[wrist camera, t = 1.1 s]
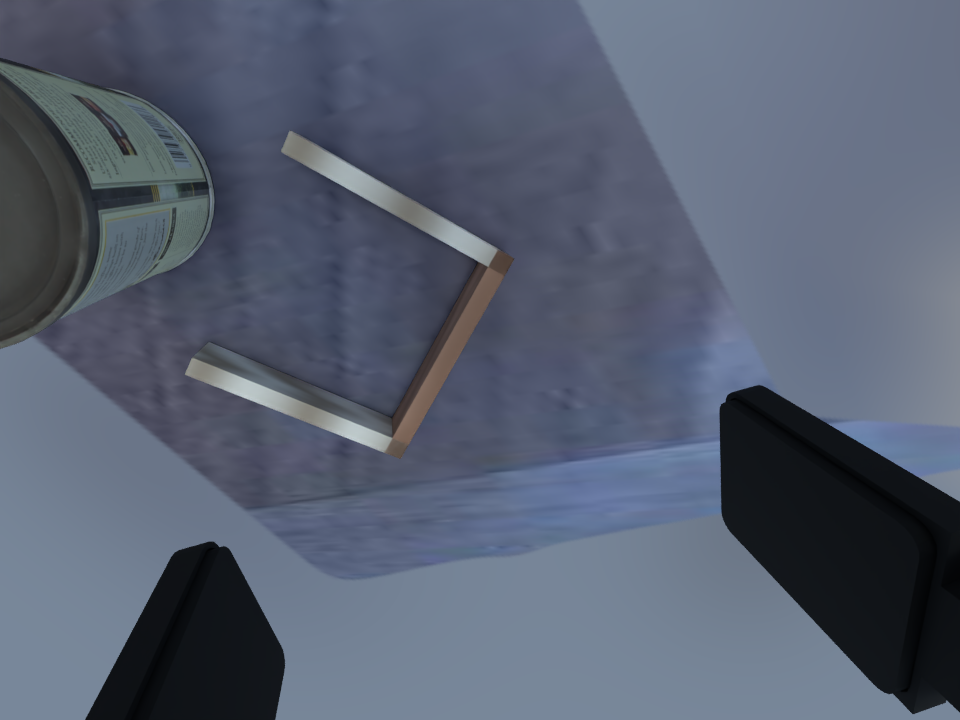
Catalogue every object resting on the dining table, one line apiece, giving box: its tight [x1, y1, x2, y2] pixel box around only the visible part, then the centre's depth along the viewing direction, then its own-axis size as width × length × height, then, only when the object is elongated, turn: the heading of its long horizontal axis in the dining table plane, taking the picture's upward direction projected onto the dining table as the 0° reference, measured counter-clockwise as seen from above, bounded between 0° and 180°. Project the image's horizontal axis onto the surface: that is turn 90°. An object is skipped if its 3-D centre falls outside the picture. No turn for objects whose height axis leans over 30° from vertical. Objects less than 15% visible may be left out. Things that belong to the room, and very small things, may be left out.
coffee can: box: [0, 58, 215, 349], centre depth 22 cm, size 10×10×14 cm
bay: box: [185, 131, 514, 459], centre depth 32 cm, size 14×15×3 cm
